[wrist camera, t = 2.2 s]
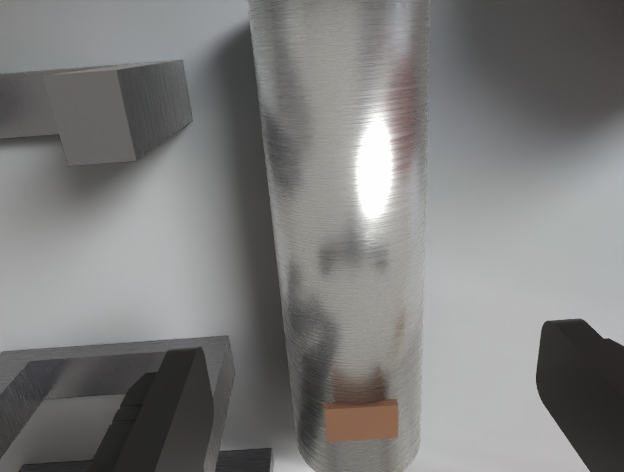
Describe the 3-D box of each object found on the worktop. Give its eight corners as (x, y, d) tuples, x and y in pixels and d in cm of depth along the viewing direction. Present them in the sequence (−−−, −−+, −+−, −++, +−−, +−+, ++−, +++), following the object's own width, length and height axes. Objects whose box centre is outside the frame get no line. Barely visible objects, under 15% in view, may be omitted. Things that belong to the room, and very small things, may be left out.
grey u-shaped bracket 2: (2, 351, 20) (-114, 470, 14) (228, 335, 20) (199, 449, 14) (17, 388, 21) (-87, 515, 15) (234, 373, 21) (209, 495, 15)
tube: (256, 4, 15) (232, -13, 11) (410, -8, 15) (456, -31, 10) (297, 392, 21) (294, 492, 17) (407, 386, 21) (435, 484, 17)
